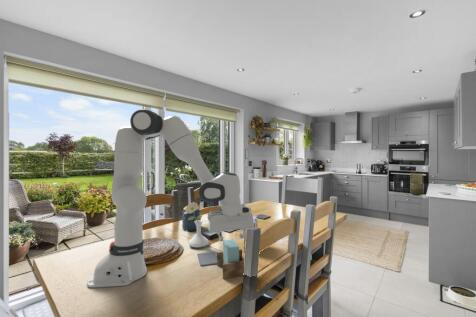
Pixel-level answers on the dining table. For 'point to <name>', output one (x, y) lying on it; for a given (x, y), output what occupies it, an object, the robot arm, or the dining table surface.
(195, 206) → the flower in vase
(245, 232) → the candy box
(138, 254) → the robot arm
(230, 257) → the teal block
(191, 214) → the canister
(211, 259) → the slate coaster
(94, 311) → the dining table surface
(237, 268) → the walnut rack
